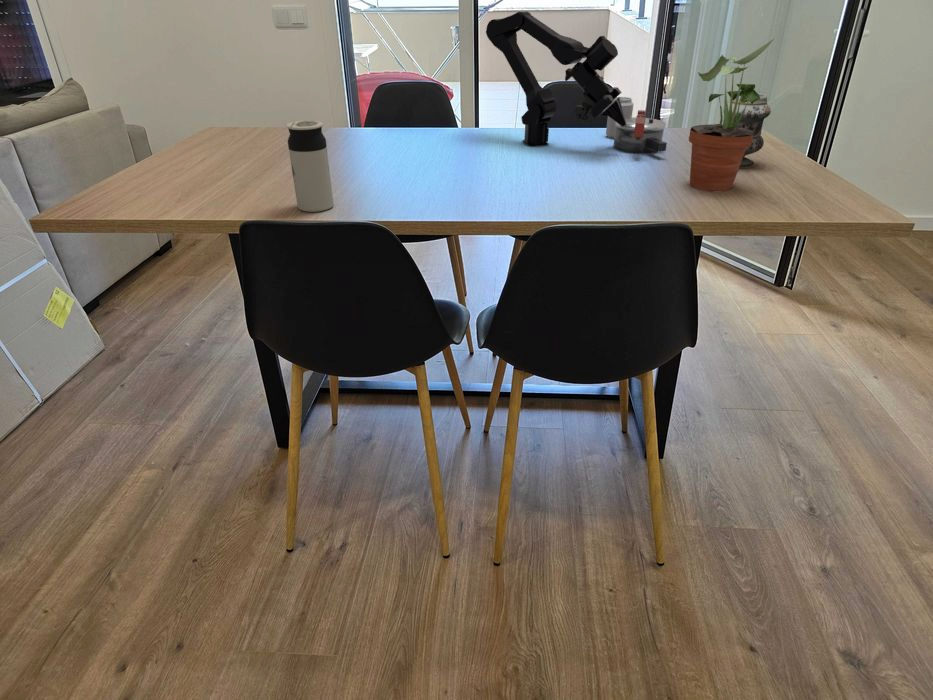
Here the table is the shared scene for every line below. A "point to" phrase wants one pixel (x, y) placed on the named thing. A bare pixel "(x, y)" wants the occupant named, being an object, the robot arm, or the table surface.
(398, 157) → the table surface
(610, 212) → the table surface
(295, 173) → the travel mug
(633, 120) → the lid
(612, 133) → the can
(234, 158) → the table surface
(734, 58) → the potted plant
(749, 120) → the weathered urn vase
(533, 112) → the robot arm
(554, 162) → the table surface
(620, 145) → the dark grey curved piece
